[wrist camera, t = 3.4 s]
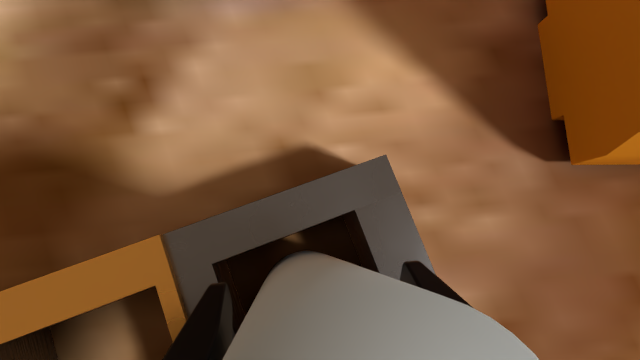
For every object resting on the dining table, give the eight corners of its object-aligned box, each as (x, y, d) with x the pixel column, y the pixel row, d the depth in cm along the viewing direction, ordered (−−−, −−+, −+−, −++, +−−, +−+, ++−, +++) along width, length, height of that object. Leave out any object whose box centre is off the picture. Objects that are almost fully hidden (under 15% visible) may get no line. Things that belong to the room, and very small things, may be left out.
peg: (364, 322, 15) (684, 657, 3) (279, 359, 15) (245, 969, 2) (332, 237, 16) (493, 227, 4) (249, 269, 15) (93, 394, 3)
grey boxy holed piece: (440, 349, 15) (482, 379, 12) (41, 536, 13) (-43, 636, 10) (368, 169, 16) (388, 152, 13) (-13, 307, 14) (-103, 328, 11)
